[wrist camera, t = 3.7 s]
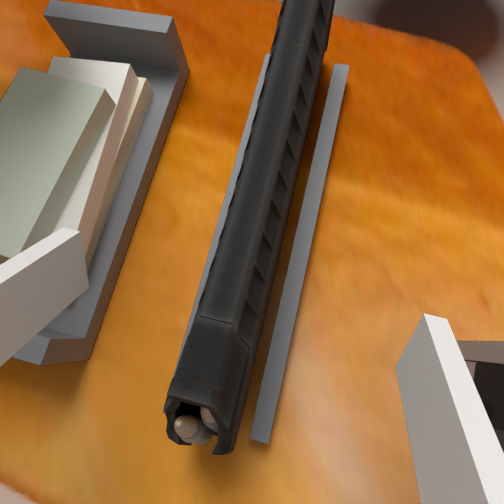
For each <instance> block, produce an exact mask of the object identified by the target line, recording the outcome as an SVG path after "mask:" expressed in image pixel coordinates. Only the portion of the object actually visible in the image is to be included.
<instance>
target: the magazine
mask: <svg viewBox="0 0 504 504" xmlns="http://www.w3.org/2000/svg"><path fill="white" fill-rule="evenodd" d="M334 3H335V0H283V1H282V6H281V10H280V14H279V17H278V24H277V28H276V32H275V36H274V41H273V44H272V47H271V53H270V57H269V62H268V65H267V69H266V72H265V78H264V82H263V85H262V89H261V93H260V96H259V99H258V103H257V104H258V105H257V109H256V112H255V116H254V119H253V122H252V125H251V131H250V135H249V138H248V142H247V145H246V148H245V151H244V157H243V160H242V164H241V168H240V171H239V174H238V177H237V180H236V183H235V184H236V185H235V189H234V192H233V195H232V198H231V201H230V204H229V207H228V210H227V211H228V212H227V216H226V219H225V223H224V226H223V229H222V232H221V235H220V237H219V241H218V242H219V243H218V246H217V249H216V252H215V255H214V258H213V261H212V264H211V266H210V269H209V272H208V273H209V274H208V277H207V281H206V284H205V287H204V290H203V292H202V295H201V298H200V300H199V303H198V309H197V312H196V315H195V318H194V321H193V324H192V327H191V330H190V332H189V334H188V336H187V339H186V342H185V345H184V348H183V351H182V354H181V357H180V360H179V363H178V366H177V369H176V372H175V375H174V377H173V378H172V381H171V384H170V387H169V390H168V393H167V399H166V402H165V405H164V410H163V411H165V414H166V417H167V429H166V432H167V435H168V438H169V439H171V440H172V441H174V442H175V443H177V444H178V445H190V446H191V445H192V443H193V444H201V445H203V444H206V443H208V442H209V441H210V440H211V437H212V435H217V436H218V443H217V445H216V446H215V448H214V450H213V452H212V455H225V454H229V453H231V452H232V451H233V450H234V446H235V442H236V438H237V434H238V430H239V426H240V422H241V418H242V413H243V409H244V405H245V401H246V397H247V392H248V388H249V384H250V380H251V372H252V368H253V364H254V360H255V356H256V351H257V347H258V343H259V339H260V334H261V330H262V326H263V322H264V317H265V313H266V309H267V305H268V300H269V296H270V292H271V288H272V283H273V279H274V275H275V271H276V266H277V262H278V258H279V253H280V249H281V245H282V240H283V236H284V232H285V227H286V223H287V219H288V214H289V210H290V205H291V201H292V197H293V192H294V188H295V183H296V179H297V175H298V170H299V166H300V161H301V157H302V152H303V148H304V143H305V139H306V134H307V130H308V125H309V121H310V116H311V112H312V107H313V103H314V98H315V94H316V89H317V85H318V80H319V76H320V71H321V67H322V62H323V58H324V53H325V51H326V50H327V46H328V40H329V34H330V28H331V22H332V16H333V10H334Z"/></svg>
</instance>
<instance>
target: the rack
mask: <svg viewBox="0 0 504 504" xmlns="http://www.w3.org/2000/svg"><path fill="white" fill-rule="evenodd" d="M43 15H44V17H45V18H46V20H47V21H48V22H49V24H50V25H51V27H52V28H53V29H54V31H55V32H56V34H57V35H58V36H59V38H60V39H61V41H62V42H63V43H64V45H65V46H66V48H67V49H68V50H69V52H70V53H71V54H70V56H69V58H75V59H85V60H95V61H106V62H116V63H127V64H130V65H131V67H132V68H133V70H134V72H135V74H136V76H137V77H142V78H146V79H147V81H148V83H149V85H150V87H151V89H152V91H153V96H152V99H151V101H150V104H149V107H148V110H147V112H146V115H145V118H144V120H143V123H142V126H141V128H140V131H139V134H138V136H137V139H136V142H135V144H134V147H133V150H132V153H131V155H130V158H129V161H128V163H127V166H126V169H125V171H124V174H123V177H122V179H121V182H120V185H119V188H118V190H117V193H116V196H115V198H114V201H113V204H112V206H111V209H110V212H109V214H108V217H107V220H106V222H105V225H104V228H103V231H102V233H101V236H100V239H99V241H98V244H97V247H96V249H95V252H94V255H93V257H92V260H91V263H90V266H89V268H88V271H87V276H88V282H89V287H88V288H87V289H86V290H85V291H84V292H83V293H82V294H81V295H80V296H78V297H77V298H76V299H75V300H74V301H73V302H72V303H71V304H70V305H68V306H67V307H66V308H65V309H64V310H63V311H62V312H61V313H60V314H58V315H57V316H56V317H55V318H54V319H53V320H52V321H51V322H50V323H48V324H47V325H46V326H45V327H44V328H43V329H42V330H41V331H40V332H38V333H37V334H36V335H35V336H34V337H33V338H32V339H31V340H30V341H28V342H27V343H26V344H25V345H24V346H23V347H22V348H21V349H20V350H18V351H17V352H16V353H15V354H14V355H13V356H12V357H13V358H16V359H20V360H23V361H26V362H30V363H33V364H37V365H49V364H57V363H66V362H74V361H83V360H89V357H90V355H91V352H92V349H93V346H94V343H95V340H96V337H97V335H98V332H99V329H100V326H101V323H102V320H103V317H104V314H105V312H106V309H107V306H108V303H109V300H110V297H111V294H112V291H113V289H114V286H115V283H116V280H117V277H118V274H119V271H120V269H121V266H122V263H123V260H124V257H125V254H126V251H127V248H128V246H129V243H130V240H131V237H132V234H133V231H134V228H135V225H136V223H137V220H138V217H139V214H140V211H141V208H142V205H143V203H144V200H145V197H146V194H147V191H148V188H149V185H150V182H151V180H152V177H153V174H154V171H155V168H156V165H157V162H158V159H159V157H160V154H161V151H162V148H163V145H164V142H165V139H166V137H167V134H168V131H169V128H170V125H171V122H172V119H173V116H174V114H175V111H176V108H177V105H178V102H179V99H180V96H181V93H182V91H183V88H184V85H185V82H186V79H187V76H188V73H189V71H190V70H189V67H188V64H187V60H186V57H185V54H184V51H183V48H182V45H181V41H180V38H179V35H178V32H177V29H176V26H175V23H174V19H173V17H171V16H164V15H156V14H149V13H142V12H135V11H128V10H120V9H113V8H106V7H99V6H92V5H85V4H77V3H70V2H63V1H56V0H50V2H49V4H48V6H47V8H46V10H45V12H44V14H43ZM269 57H270V54H269V53H266V56H265V59H264V63H263V66H262V70H261V73H260V77H259V80H258V84H257V87H256V91H255V94H254V97H253V101H252V104H251V108H250V111H249V115H248V118H247V122H246V125H245V129H244V132H243V136H242V139H241V143H240V146H239V150H238V153H237V157H236V160H235V164H234V167H233V170H232V174H231V177H230V181H229V184H228V188H227V191H226V195H225V198H224V202H223V205H222V209H221V212H220V216H219V219H218V223H217V226H216V230H215V233H214V236H213V240H212V243H211V247H210V250H209V254H208V257H207V261H206V264H205V268H204V271H203V275H202V278H201V282H200V285H199V289H198V292H197V296H196V299H195V302H194V306H193V309H192V313H191V316H190V320H189V323H188V327H187V330H186V334H185V337H184V341H183V344H182V348H181V351H180V355H179V358H178V362H177V365H176V368H175V372H176V369H177V366H178V363H179V360H180V357H181V354H182V351H183V348H184V345H185V342H186V339H187V336H188V334H189V332H190V330H191V327H192V324H193V321H194V318H195V315H196V312H197V309H198V303H199V300H200V298H201V295H202V292H203V290H204V287H205V284H206V281H207V277H208V274H209V273H208V272H209V269H210V266H211V264H212V261H213V258H214V255H215V252H216V249H217V246H218V243H219V242H218V241H219V237H220V235H221V232H222V229H223V226H224V223H225V219H226V216H227V212H228V211H227V210H228V207H229V204H230V201H231V198H232V195H233V192H234V189H235V185H236V184H235V183H236V180H237V177H238V174H239V171H240V168H241V164H242V160H243V157H244V151H245V148H246V145H247V142H248V138H249V135H250V131H251V125H252V122H253V119H254V116H255V112H256V109H257V105H258V104H257V103H258V99H259V96H260V93H261V89H262V85H263V82H264V78H265V72H266V69H267V65H268V62H269ZM349 66H350V65H343V64H337V63H334V67H333V72H332V76H331V81H330V85H329V89H328V94H327V98H326V103H325V107H324V111H323V116H322V120H321V125H320V129H319V133H318V138H317V142H316V147H315V151H314V155H313V160H312V164H311V169H310V173H309V177H308V182H307V186H306V191H305V195H304V199H303V204H302V208H301V213H300V217H299V221H298V226H297V230H296V235H295V239H294V243H293V248H292V252H291V257H290V261H289V265H288V270H287V274H286V279H285V283H284V287H283V292H282V296H281V301H280V305H279V309H278V314H277V318H276V323H275V327H274V331H273V336H272V340H271V345H270V349H269V353H268V358H267V362H266V367H265V371H264V375H263V380H262V384H261V389H260V393H259V397H258V402H257V406H256V410H255V415H254V419H253V424H252V428H251V432H250V437H249V439H252V440H256V441H259V442H262V443H266V444H269V439H270V435H271V430H272V425H273V421H274V416H275V411H276V407H277V402H278V397H279V393H280V388H281V383H282V378H283V374H284V369H285V364H286V360H287V355H288V350H289V346H290V341H291V336H292V332H293V327H294V322H295V318H296V313H297V308H298V304H299V299H300V294H301V290H302V285H303V280H304V276H305V271H306V266H307V262H308V257H309V252H310V248H311V243H312V238H313V234H314V229H315V224H316V220H317V215H318V210H319V206H320V201H321V196H322V192H323V187H324V182H325V178H326V173H327V168H328V164H329V159H330V154H331V150H332V145H333V140H334V136H335V131H336V126H337V122H338V117H339V112H340V108H341V103H342V98H343V94H344V89H345V84H346V80H347V75H348V70H349ZM175 372H174V375H175ZM174 375H173V377H174ZM163 413H165V411H163Z"/></svg>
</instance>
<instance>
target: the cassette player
mask: <svg viewBox="0 0 504 504" xmlns="http://www.w3.org/2000/svg"><path fill="white" fill-rule="evenodd" d="M456 342H457V344H458V346H459V349H460V351H461V353H462V356H463V358H464V361H465V363H466V365H467V368H468V370H469V372H470V375H471V377H472V379H473V382H474V384H475V386H476V389H477V391H478V394H479V396H480V398H481V401H482V403H483V405H484V408H485V410H486V412H487V415H488V417H489V420H490V422H491V424H492V427H493V428H494V429H497V430H501V431H504V341H456Z"/></svg>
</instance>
